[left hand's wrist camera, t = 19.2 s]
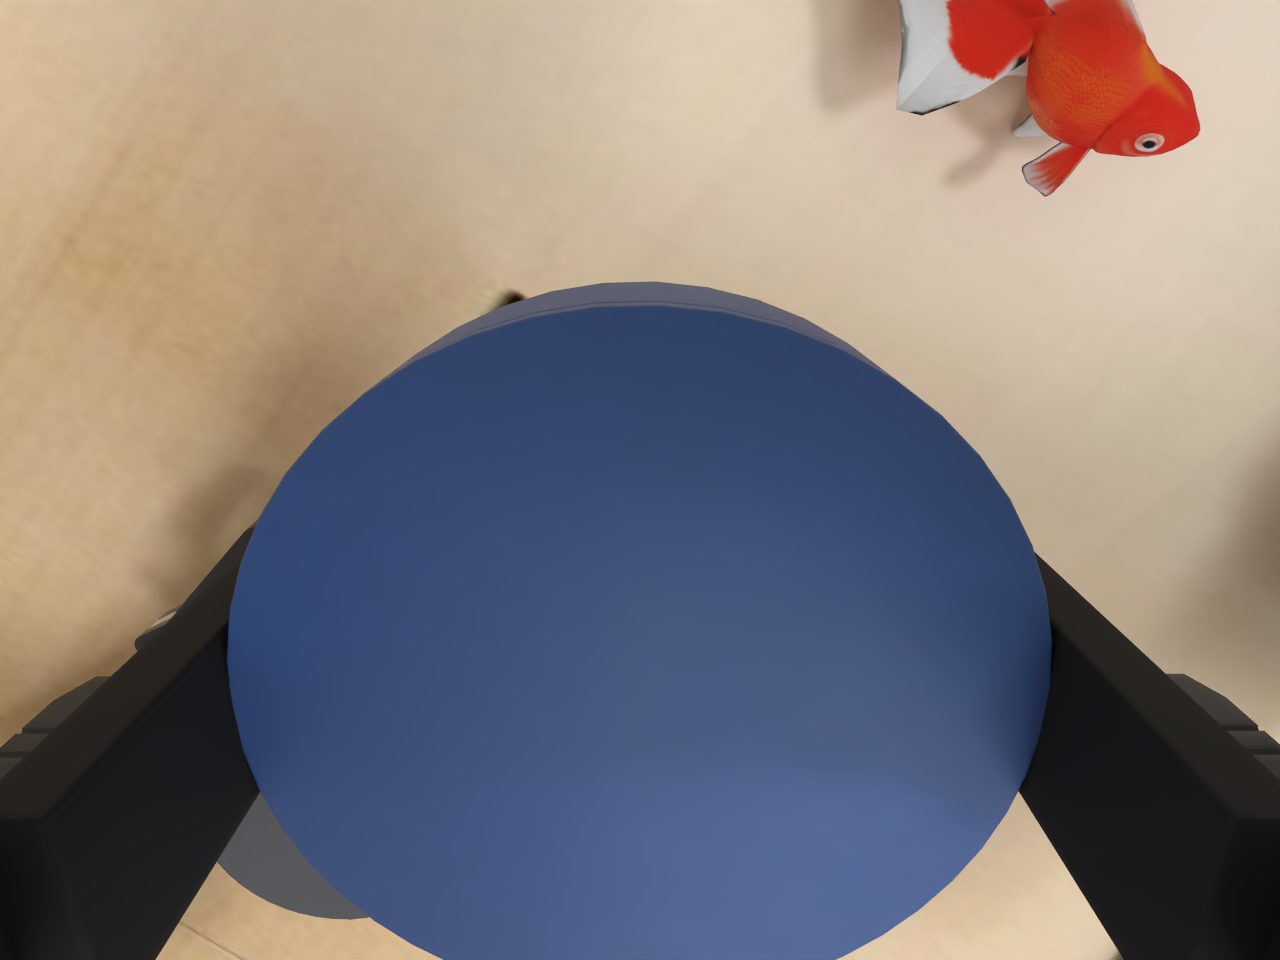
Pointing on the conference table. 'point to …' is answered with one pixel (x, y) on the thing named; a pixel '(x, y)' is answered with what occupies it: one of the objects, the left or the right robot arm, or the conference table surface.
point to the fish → (1049, 75)
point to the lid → (639, 639)
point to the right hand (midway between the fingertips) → (495, 587)
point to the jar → (280, 868)
